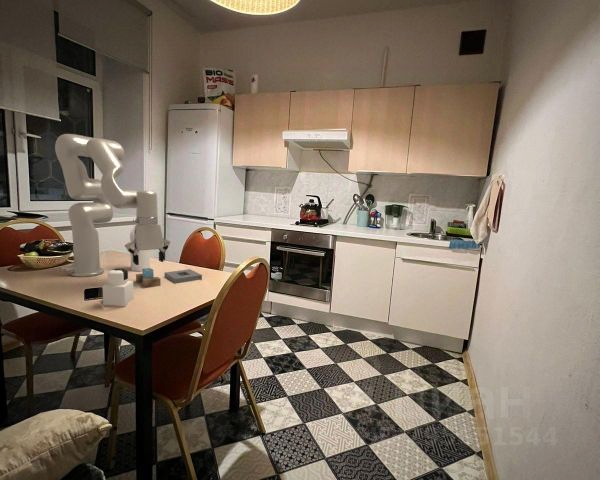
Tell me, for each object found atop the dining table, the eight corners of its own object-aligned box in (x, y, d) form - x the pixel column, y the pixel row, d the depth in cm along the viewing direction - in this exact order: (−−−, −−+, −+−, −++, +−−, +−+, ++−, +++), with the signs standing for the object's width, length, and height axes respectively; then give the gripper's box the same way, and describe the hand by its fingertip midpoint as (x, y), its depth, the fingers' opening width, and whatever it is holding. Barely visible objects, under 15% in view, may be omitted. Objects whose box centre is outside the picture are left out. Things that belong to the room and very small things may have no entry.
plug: (145, 285, 129) (145, 270, 128) (142, 282, 132) (142, 268, 131) (153, 283, 131) (153, 269, 130) (150, 281, 134) (150, 267, 133)
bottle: (131, 272, 148) (129, 208, 144) (130, 267, 155) (129, 206, 151) (150, 270, 152) (149, 208, 148) (148, 266, 159) (148, 207, 155)
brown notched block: (145, 289, 126) (144, 280, 125) (136, 282, 134) (135, 274, 133) (160, 286, 130) (160, 278, 129) (150, 280, 138) (150, 272, 137)
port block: (175, 284, 134) (175, 278, 133) (164, 277, 142) (164, 272, 142) (201, 280, 142) (201, 274, 142) (190, 274, 151) (190, 269, 150)
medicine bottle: (113, 299, 113) (112, 266, 112) (133, 299, 114) (133, 267, 112) (102, 306, 106) (101, 271, 105) (124, 307, 107) (123, 272, 105)
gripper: (126, 223, 119) (129, 267, 122) (172, 221, 131) (173, 261, 133) (121, 221, 124) (123, 264, 127) (165, 220, 136) (166, 258, 139)
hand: (149, 262), depth 130 cm, fingers open, 9 cm apart
